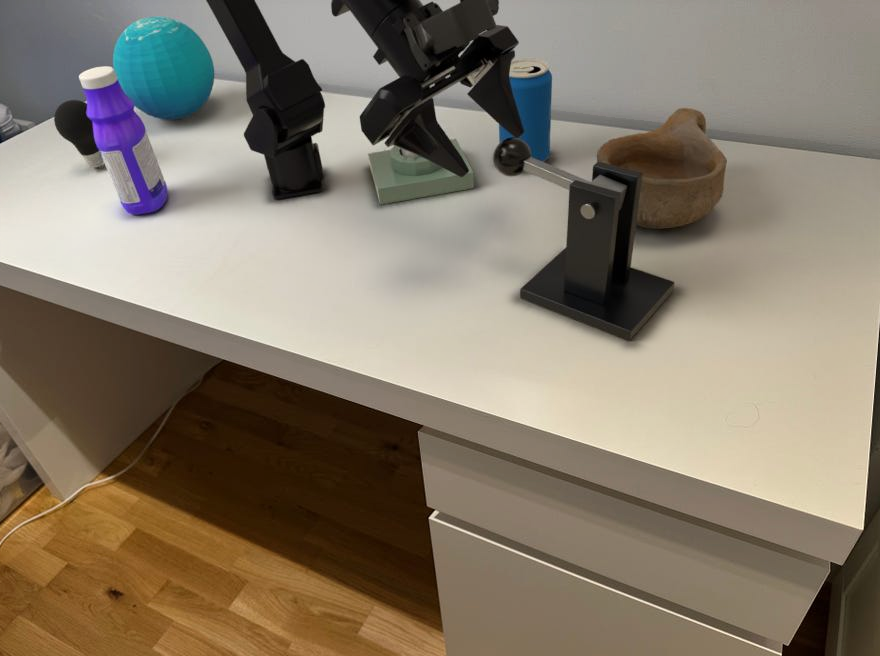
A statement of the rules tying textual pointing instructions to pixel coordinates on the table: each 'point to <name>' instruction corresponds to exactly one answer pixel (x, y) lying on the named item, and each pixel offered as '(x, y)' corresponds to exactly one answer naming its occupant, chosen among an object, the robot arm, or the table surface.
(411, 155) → the flush button
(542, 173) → the ball knob lever
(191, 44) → the decorative orb
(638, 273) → the lever bracket
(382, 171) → the button block
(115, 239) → the table surface
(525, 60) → the beverage can
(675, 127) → the bowl
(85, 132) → the light bulb
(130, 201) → the bottle
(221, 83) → the table surface
